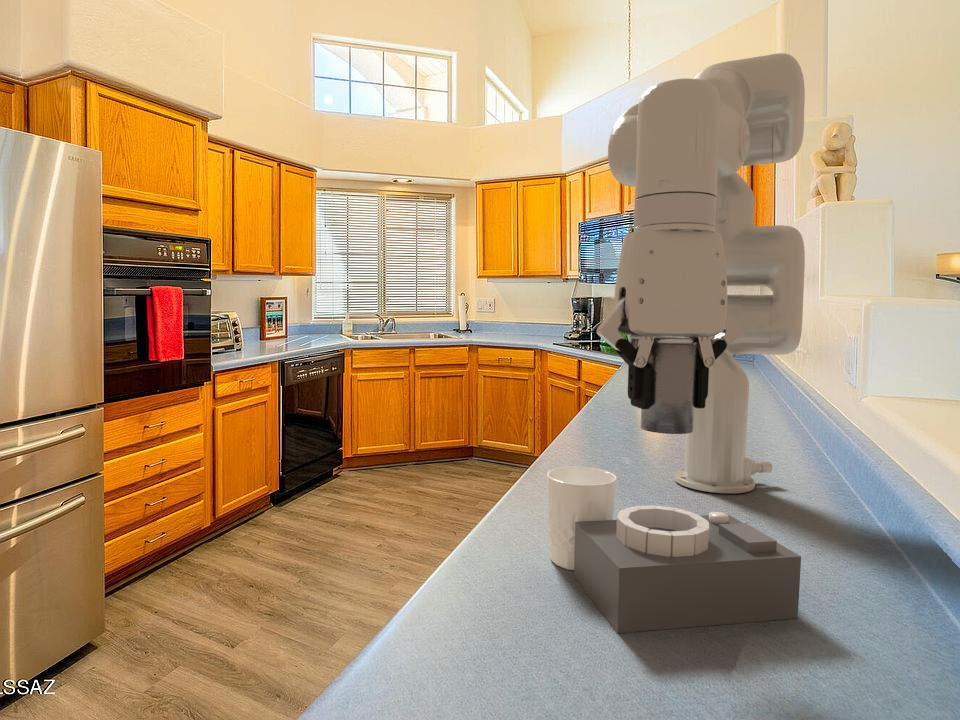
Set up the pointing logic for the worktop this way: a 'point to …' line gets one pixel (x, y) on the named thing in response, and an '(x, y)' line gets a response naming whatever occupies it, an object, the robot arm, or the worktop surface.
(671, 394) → the shiny metal cylinder
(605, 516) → the white cup
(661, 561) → the camera body
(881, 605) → the worktop surface
